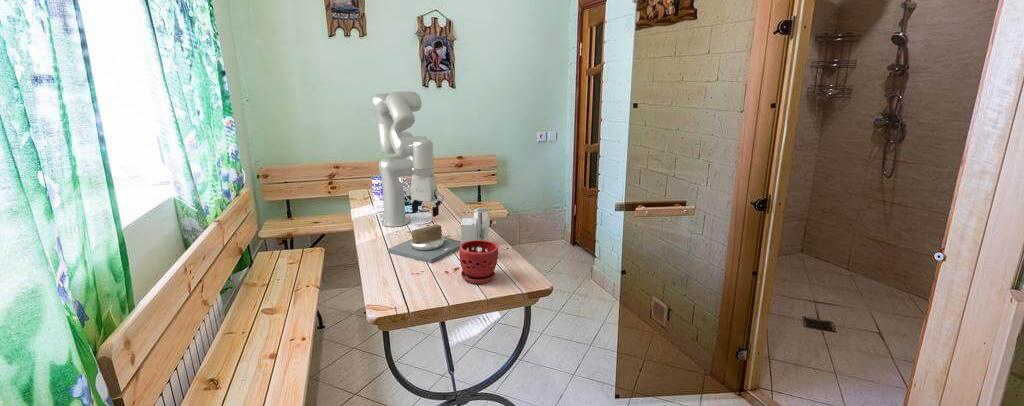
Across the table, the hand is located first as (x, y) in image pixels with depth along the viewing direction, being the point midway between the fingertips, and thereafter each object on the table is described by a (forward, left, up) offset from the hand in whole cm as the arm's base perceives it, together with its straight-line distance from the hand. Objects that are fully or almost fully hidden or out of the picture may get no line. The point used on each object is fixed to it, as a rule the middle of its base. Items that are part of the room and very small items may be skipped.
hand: (425, 213), depth 186 cm
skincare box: (+21, +1, -15) cm, 25 cm away
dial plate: (+1, 0, -15) cm, 15 cm away
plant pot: (+35, -13, -15) cm, 40 cm away
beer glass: (+17, +15, -15) cm, 27 cm away
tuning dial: (+1, +2, -13) cm, 13 cm away
